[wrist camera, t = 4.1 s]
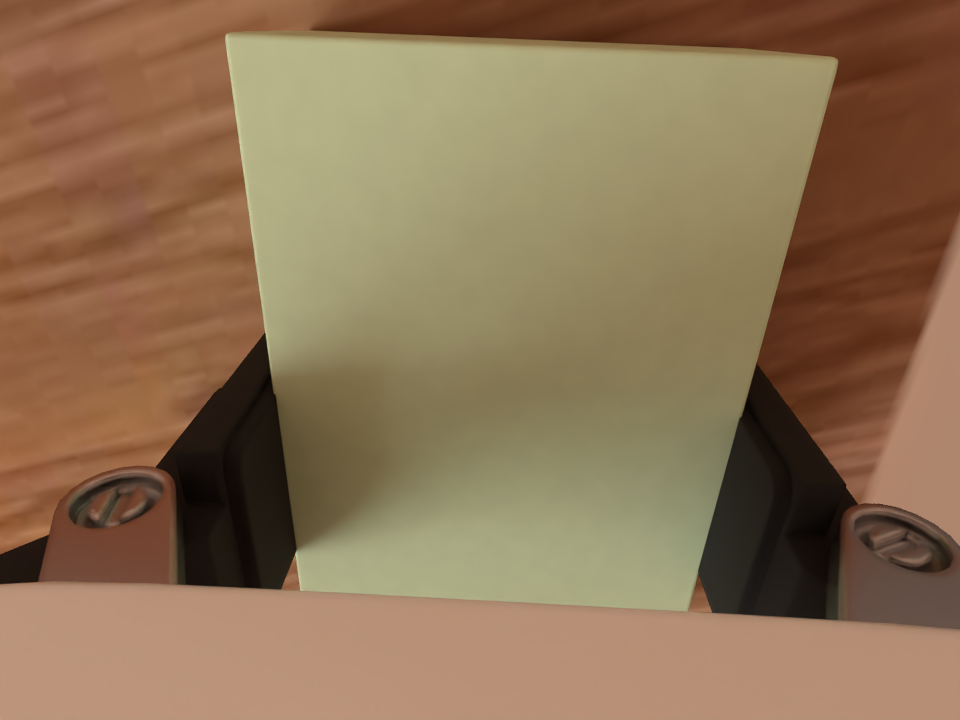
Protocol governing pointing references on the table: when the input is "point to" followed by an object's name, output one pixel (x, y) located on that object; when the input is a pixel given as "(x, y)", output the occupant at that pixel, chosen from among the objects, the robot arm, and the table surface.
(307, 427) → the sticky note pad
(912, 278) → the table surface
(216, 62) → the table surface
